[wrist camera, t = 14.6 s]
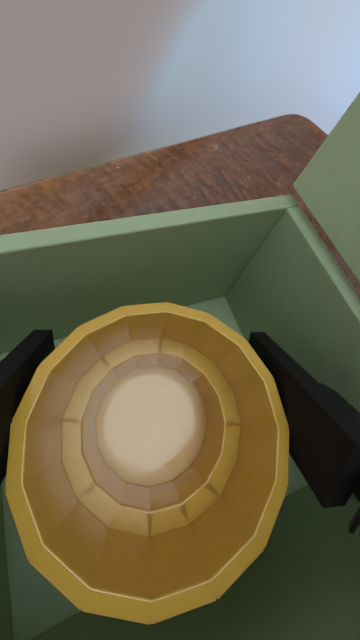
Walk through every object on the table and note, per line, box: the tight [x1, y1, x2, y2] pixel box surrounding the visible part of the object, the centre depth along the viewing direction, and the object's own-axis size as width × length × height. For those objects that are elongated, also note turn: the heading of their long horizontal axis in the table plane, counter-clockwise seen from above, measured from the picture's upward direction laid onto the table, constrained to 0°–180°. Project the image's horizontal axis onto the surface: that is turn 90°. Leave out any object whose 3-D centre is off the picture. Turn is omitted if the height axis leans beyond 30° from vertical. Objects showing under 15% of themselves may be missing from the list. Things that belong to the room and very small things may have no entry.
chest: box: [0, 195, 360, 640], centre depth 11 cm, size 19×16×10 cm
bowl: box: [5, 302, 289, 625], centre depth 11 cm, size 9×9×8 cm
